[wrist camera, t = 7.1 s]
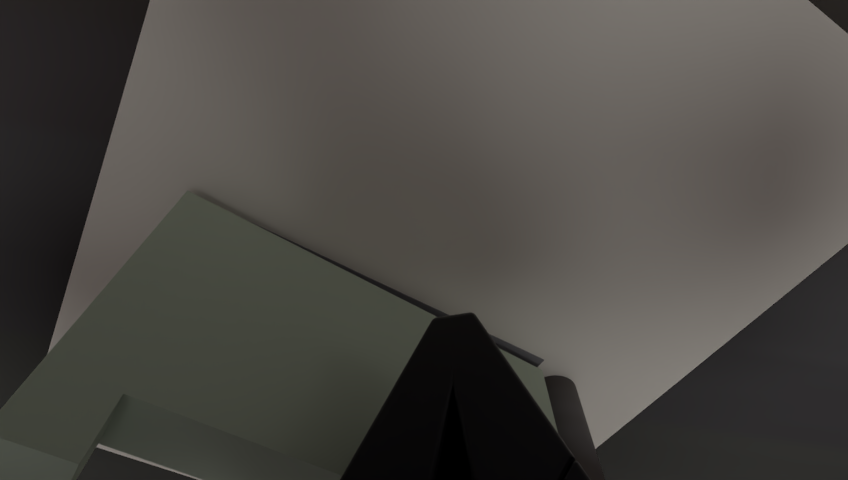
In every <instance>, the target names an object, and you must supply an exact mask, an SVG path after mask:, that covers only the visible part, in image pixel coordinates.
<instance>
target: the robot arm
mask: <svg viewBox="0 0 848 480" xmlns="http://www.w3.org/2000/svg"><path fill="white" fill-rule="evenodd" d="M340 480H591V479H590V478H589V476H588V475H587V473H586V472H585V471H584V469H583V468H582V466H581V465H580V463H579V462H577V461H575V457H574V455H573V454H572V452H571V451H570V450H569V448H568V447H567V445H566V444H565V442H564V441H563V439H562V438H561V437H560V435H559V434H558V432H557V431H556V429H555V428H554V427H553V425H552V424H551V422H550V421H549V419H548V418H547V417H546V415H545V414H544V412H543V411H542V409H541V408H540V406H539V405H538V404H537V402H536V401H535V399H534V398H533V396H532V395H531V394H530V392H529V391H528V389H527V388H526V386H525V385H524V384H523V382H522V381H521V379H520V378H519V376H518V375H517V373H516V372H515V371H514V369H513V368H512V366H511V365H510V363H509V362H508V361H507V359H506V358H505V356H504V355H503V353H502V352H501V351H500V349H499V348H498V346H497V345H496V343H495V342H494V340H493V339H492V338H491V336H490V335H489V333H488V332H487V330H486V329H485V328H484V326H483V325H482V323H481V322H480V320H479V319H478V318H477V316H476V315H475V314H474V313H472V312H469V313H462V314H455V315H448V316H442V317H436V318H434V319H433V320H432V321H431V322H430V324H429V326H428V328H427V329H426V331H425V333H424V334H423V336H422V338H421V340H420V341H419V343H418V345H417V347H416V348H415V350H414V352H413V354H412V355H411V357H410V359H409V361H408V362H407V364H406V366H405V367H404V369H403V371H402V373H401V374H400V376H399V378H398V380H397V381H396V383H395V385H394V387H393V388H392V390H391V392H390V394H389V395H388V397H387V399H386V400H385V402H384V404H383V406H382V407H381V409H380V411H379V413H378V414H377V416H376V418H375V420H374V421H373V423H372V425H371V426H370V428H369V430H368V432H367V433H366V435H365V437H364V439H363V440H362V442H361V444H360V446H359V447H358V449H357V451H356V453H355V454H354V456H353V458H352V459H351V461H350V463H349V465H348V466H347V468H346V470H345V472H344V473H343V475H342V477H341V479H340Z"/></svg>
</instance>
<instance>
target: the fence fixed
mask: <svg viewBox="0 0 848 480" xmlns="http://www.w3.org/2000/svg"><path fill="white" fill-rule="evenodd" d="M544 379H545V383H546V387H547V391H548V395H549V399H550V403H551V407H552V411H553V415H554V419H555V423H556V427H557V431H558V434H559V435H560V437H561V438H562V439H563V441H564V442H565V444H566V445H567V447H568V448H569V450H570V451H571V452H572V454H573V455H574V457H575V461H577V462H579V463H580V465H581V466H582V468H583V469H584V471H585V472H586V473H587V475H588V476H589V478H590V479H591V480H605V478H604V475H603V472H602V469H601V466H600V462H599V459H598V456H597V453H596V450H595V446H594V443H593V440H592V437H591V434H590V430H589V427H588V424H587V421H586V418H585V414H584V411H583V408H582V405H581V402H580V398H579V395H578V392H577V389H576V386H575V384H574V382H573V381H572V380H570V379H569V378H567V377H564V376H559V375H552V376H547V377H544Z"/></svg>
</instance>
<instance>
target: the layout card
mask: <svg viewBox="0 0 848 480" xmlns="http://www.w3.org/2000/svg"><path fill="white" fill-rule="evenodd" d="M187 190H188V191H190V192H192V193H194V194H196V195H198V196H199V197H201V198H203V199H205V200H207V201H209V202H211V203H213V204H215V205H217V206H219V207H221V208H223V209H225V210H227V211H229V212H231V213H233V214H235V215H237V216H239V217H241V218H243V219H245V220H247V221H249V222H251V223H253V224H255V225H257V226H259V227H261V228H263V229H265V230H267V231H269V232H271V233H273V234H275V235H277V236H278V237H280V238H282V239H284V240H286V241H288V242H290V243H292V244H294V245H296V246H298V247H300V248H302V249H304V250H306V251H308V252H310V253H312V254H314V255H316V256H318V257H320V258H322V259H324V260H326V261H328V262H330V263H332V264H334V265H336V266H338V267H340V268H342V269H344V270H346V271H348V272H350V273H352V274H354V275H356V276H357V277H359V278H361V279H363V280H365V281H367V282H369V283H371V284H373V285H375V286H377V287H379V288H381V289H383V290H385V291H387V292H389V293H391V294H393V295H395V296H397V297H399V298H401V299H403V300H405V301H407V302H409V303H411V304H413V305H415V306H417V307H419V308H421V309H423V310H425V311H427V312H429V313H431V314H433V315H435V316H436V317H442V316H448V315H455V314H462V313H469V312H472V313H474V314H475V315H476V316H477V318H478V319H479V320H480V322H481V323H482V325H483V326H484V328H485V329H486V330H487V332H488V333H489V335H490V336H491V338H492V339H493V340H494V342H495V343H496V345H497V346H498V348H500V349H502V350H504V351H506V352H508V353H510V354H512V355H514V356H515V357H517V358H519V359H521V360H523V361H525V362H527V363H529V364H531V365H533V366H535V367H537V368H539V369H541V370H542V371H543V375H544V377H547V376H552V375H559V376H564V377H567V378H569V379H570V380H572V381H573V382H574V384H575V386H576V389H577V392H578V395H579V398H580V402H581V405H582V408H583V411H584V414H585V418H586V421H587V424H588V427H589V430H590V434H591V437H592V440H593V443H594V446H595V449H596V448H597V447H598V446H599V445H601V444H602V443H603V442H604V441H606V440H607V439H608V438H609V437H611V436H612V435H613V434H614V433H615V432H617V431H618V430H619V429H620V428H622V427H623V426H624V425H625V424H627V423H628V422H629V421H630V420H631V419H633V418H634V417H635V416H636V415H638V414H639V413H640V412H641V411H643V410H644V409H645V408H646V407H647V406H649V405H650V404H651V403H652V402H654V401H655V400H656V399H657V398H659V397H660V396H661V395H662V394H663V393H665V392H666V391H667V390H668V389H670V388H671V387H672V386H673V385H675V384H676V383H677V382H678V381H679V380H681V379H682V378H683V377H684V376H686V375H687V374H688V373H689V372H691V371H692V370H693V369H694V368H695V367H697V366H698V365H699V364H700V363H702V362H703V361H704V360H705V359H707V358H708V357H709V356H710V355H711V354H713V353H714V352H715V351H716V350H718V349H719V348H720V347H721V346H723V345H724V344H725V343H726V342H727V341H729V340H730V339H731V338H732V337H734V336H735V335H736V334H737V333H739V332H740V331H741V330H742V329H743V328H745V327H746V326H747V325H748V324H750V323H751V322H752V321H753V320H755V319H756V318H757V317H758V316H759V315H761V314H762V313H763V312H764V311H766V310H767V309H768V308H769V307H771V306H772V305H773V304H774V303H775V302H777V301H778V300H779V299H780V298H782V297H783V296H784V295H785V294H787V293H788V292H789V291H790V290H791V289H793V288H794V287H795V286H796V285H798V284H799V283H800V282H801V281H803V280H804V279H805V278H806V277H807V276H809V275H810V274H811V273H812V272H814V271H815V270H816V269H817V268H819V267H820V266H821V265H822V264H823V263H825V262H826V261H827V260H828V259H830V258H831V257H832V256H833V255H835V254H836V253H837V252H838V251H839V250H841V249H842V248H843V247H844V246H846V245H847V244H848V34H847V33H846V32H845V31H844V30H843V29H842V28H840V27H839V26H838V25H837V24H836V23H834V22H833V21H832V20H831V19H830V18H829V17H827V16H826V15H825V14H824V13H823V12H822V11H820V10H819V9H818V8H817V7H816V6H814V5H813V4H812V3H811V2H810V1H809V0H150V2H149V6H148V9H147V13H146V16H145V20H144V23H143V26H142V30H141V33H140V37H139V40H138V44H137V47H136V51H135V54H134V57H133V61H132V64H131V68H130V71H129V75H128V78H127V82H126V85H125V88H124V92H123V95H122V99H121V102H120V106H119V109H118V113H117V116H116V119H115V123H114V126H113V130H112V133H111V137H110V140H109V144H108V147H107V151H106V154H105V157H104V161H103V164H102V168H101V171H100V175H99V178H98V182H97V185H96V188H95V192H94V195H93V199H92V202H91V206H90V209H89V213H88V216H87V219H86V223H85V226H84V230H83V233H82V237H81V240H80V244H79V247H78V250H77V254H76V257H75V261H74V264H73V268H72V271H71V275H70V278H69V281H68V285H67V288H66V292H65V295H64V299H63V302H62V306H61V309H60V313H59V316H58V319H57V323H56V326H55V330H54V333H53V337H52V340H51V344H50V347H49V350H48V353H49V352H50V351H51V350H52V349H53V347H54V346H55V345H56V344H57V343H58V341H59V340H60V339H61V338H62V337H63V336H64V334H65V333H66V332H67V331H68V330H69V329H70V327H71V326H72V325H73V324H74V323H75V322H76V320H77V319H78V318H79V317H80V316H81V315H82V313H83V312H84V311H85V310H86V309H87V308H88V306H89V305H90V304H91V303H92V302H93V301H94V299H95V298H96V297H97V296H98V295H99V293H100V292H101V291H102V290H103V289H104V288H105V286H106V285H107V284H108V283H109V282H110V281H111V279H112V278H113V277H114V276H115V275H116V274H117V272H118V271H119V270H120V269H121V268H122V267H123V265H124V264H125V263H126V262H127V261H128V260H129V258H130V257H131V256H132V255H133V254H134V253H135V251H136V250H137V249H138V248H139V247H140V245H141V244H142V243H143V242H144V241H145V240H146V238H147V237H148V236H149V235H150V234H151V233H152V231H153V230H154V229H155V228H156V227H157V226H158V224H159V223H160V222H161V221H162V220H163V219H164V217H165V216H166V215H167V214H168V213H169V212H170V210H171V209H172V208H173V207H174V206H175V204H176V203H177V202H178V201H179V200H180V199H181V197H182V196H183V195H184V194H185V193H186V192H187ZM97 447H98V448H101V449H104V450H107V451H110V452H113V453H116V454H119V455H123V456H126V457H129V458H132V459H135V460H138V461H141V462H145V463H148V464H151V465H154V466H157V467H160V468H163V469H166V470H170V471H173V472H176V473H179V474H182V475H185V476H188V477H192V478H195V479H198V480H202V479H199V478H197V477H194V476H191V475H188V474H185V473H182V472H179V471H176V470H173V469H170V468H167V467H165V466H162V465H159V464H156V463H153V462H150V461H147V460H144V459H141V458H138V457H136V456H133V455H130V454H127V453H124V452H121V451H118V450H115V449H112V448H109V447H106V446H104V445H101V444H98V445H97Z"/></svg>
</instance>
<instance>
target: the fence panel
mask: <svg viewBox="0 0 848 480" xmlns="http://www.w3.org/2000/svg"><path fill="white" fill-rule="evenodd" d="M434 318H436V316H435V315H433V314H431V313H429V312H427V311H425V310H423V309H421V308H419V307H417V306H415V305H413V304H411V303H409V302H407V301H405V300H403V299H401V298H399V297H397V296H395V295H393V294H391V293H389V292H387V291H385V290H383V289H381V288H379V287H377V286H375V285H373V284H371V283H369V282H367V281H365V280H363V279H361V278H359V277H357V276H356V275H354V274H352V273H350V272H348V271H346V270H344V269H342V268H340V267H338V266H336V265H334V264H332V263H330V262H328V261H326V260H324V259H322V258H320V257H318V256H316V255H314V254H312V253H310V252H308V251H306V250H304V249H302V248H300V247H298V246H296V245H294V244H292V243H290V242H288V241H286V240H284V239H282V238H280V237H278V236H277V235H275V234H273V233H271V232H269V231H267V230H265V229H263V228H261V227H259V226H257V225H255V224H253V223H251V222H249V221H247V220H245V219H243V218H241V217H239V216H237V215H235V214H233V213H231V212H229V211H227V210H225V209H223V208H221V207H219V206H217V205H215V204H213V203H211V202H209V201H207V200H205V199H203V198H201V197H199V196H198V195H196V194H194V193H192V192H190V191H188V190H187V192H186V193H185V194H184V195H183V196H182V197H181V199H180V200H179V201H178V202H177V203H176V204H175V206H174V207H173V208H172V209H171V210H170V212H169V213H168V214H167V215H166V216H165V217H164V219H163V220H162V221H161V222H160V223H159V224H158V226H157V227H156V228H155V229H154V230H153V231H152V233H151V234H150V235H149V236H148V237H147V238H146V240H145V241H144V242H143V243H142V244H141V245H140V247H139V248H138V249H137V250H136V251H135V253H134V254H133V255H132V256H131V257H130V258H129V260H128V261H127V262H126V263H125V264H124V265H123V267H122V268H121V269H120V270H119V271H118V272H117V274H116V275H115V276H114V277H113V278H112V279H111V281H110V282H109V283H108V284H107V285H106V286H105V288H104V289H103V290H102V291H101V292H100V293H99V295H98V296H97V297H96V298H95V299H94V301H93V302H92V303H91V304H90V305H89V306H88V308H87V309H86V310H85V311H84V312H83V313H82V315H81V316H80V317H79V318H78V319H77V320H76V322H75V323H74V324H73V325H72V326H71V327H70V329H69V330H68V331H67V332H66V333H65V334H64V336H63V337H62V338H61V339H60V340H59V341H58V343H57V344H56V345H55V346H54V347H53V349H52V350H51V351H50V352H49V353H48V354H47V356H46V357H45V358H44V359H43V360H42V361H41V363H40V364H39V365H38V366H37V367H36V368H35V370H34V371H33V372H32V373H31V374H30V375H29V377H28V378H27V379H26V380H25V381H24V382H23V384H22V385H21V386H20V387H19V388H18V389H17V391H16V392H15V393H14V394H13V395H12V397H11V398H10V399H9V400H8V401H7V402H6V404H5V405H4V406H3V407H2V408H1V409H0V480H76V479H77V478H78V476H79V474H80V473H81V471H82V469H83V468H84V466H85V465H86V463H87V461H88V460H89V458H90V456H91V455H92V453H93V452H94V450H95V448H96V447H97V445H98V444H101V445H104V446H106V447H109V448H112V449H115V450H118V451H121V452H124V453H127V454H130V455H133V456H136V457H138V458H141V459H144V460H147V461H150V462H153V463H156V464H159V465H162V466H165V467H167V468H170V469H173V470H176V471H179V472H182V473H185V474H188V475H191V476H194V477H197V478H199V479H202V480H340V479H341V477H342V475H343V473H344V472H345V470H346V468H347V466H348V465H349V463H350V461H351V459H352V458H353V456H354V454H355V453H356V451H357V449H358V447H359V446H360V444H361V442H362V440H363V439H364V437H365V435H366V433H367V432H368V430H369V428H370V426H371V425H372V423H373V421H374V420H375V418H376V416H377V414H378V413H379V411H380V409H381V407H382V406H383V404H384V402H385V400H386V399H387V397H388V395H389V394H390V392H391V390H392V388H393V387H394V385H395V383H396V381H397V380H398V378H399V376H400V374H401V373H402V371H403V369H404V367H405V366H406V364H407V362H408V361H409V359H410V357H411V355H412V354H413V352H414V350H415V348H416V347H417V345H418V343H419V341H420V340H421V338H422V336H423V334H424V333H425V331H426V329H427V328H428V326H429V324H430V322H431V321H432V320H433V319H434ZM499 349H500V348H499ZM500 351H501V352H502V353H503V355H504V356H505V358H506V359H507V361H508V362H509V363H510V365H511V366H512V368H513V369H514V371H515V372H516V373H517V375H518V376H519V378H520V379H521V381H522V382H523V384H524V385H525V386H526V388H527V389H528V391H529V392H530V394H531V395H532V396H533V398H534V399H535V401H536V402H537V404H538V405H539V406H540V408H541V409H542V411H543V412H544V414H545V415H546V417H547V418H548V419H549V421H550V422H551V424H552V425H553V427H554V428H555V429H556V431H557V427H556V423H555V419H554V415H553V411H552V407H551V403H550V399H549V395H548V391H547V387H546V383H545V379H544V375H543V371H542V370H541V369H539V368H537V367H535V366H533V365H531V364H529V363H527V362H525V361H523V360H521V359H519V358H517V357H515V356H514V355H512V354H510V353H508V352H506V351H504V350H502V349H500ZM557 432H558V431H557Z"/></svg>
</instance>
